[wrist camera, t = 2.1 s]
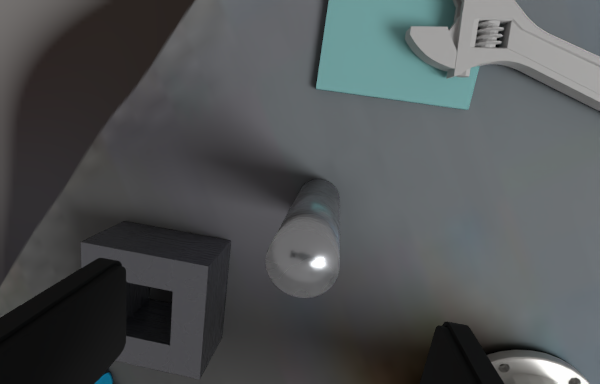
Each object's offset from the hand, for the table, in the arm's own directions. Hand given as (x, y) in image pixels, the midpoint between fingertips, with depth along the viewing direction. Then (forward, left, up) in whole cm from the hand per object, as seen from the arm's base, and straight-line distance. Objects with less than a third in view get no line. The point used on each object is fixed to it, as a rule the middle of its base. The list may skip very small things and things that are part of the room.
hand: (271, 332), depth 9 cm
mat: (-4, -14, -17) cm, 22 cm away
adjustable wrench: (-16, -11, -17) cm, 25 cm away
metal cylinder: (0, 0, -17) cm, 17 cm away
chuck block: (+12, +10, -17) cm, 23 cm away
